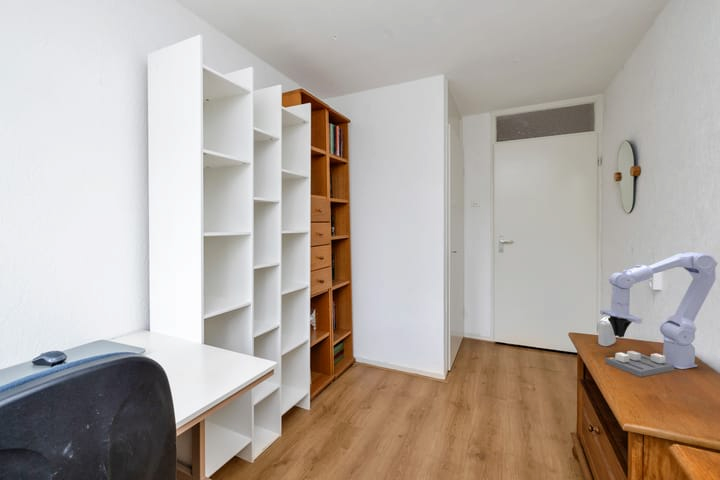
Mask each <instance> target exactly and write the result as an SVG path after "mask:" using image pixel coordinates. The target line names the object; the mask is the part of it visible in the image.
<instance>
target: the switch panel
mask: <svg viewBox="0 0 720 480" xmlns="http://www.w3.org/2000/svg"><path fill="white" fill-rule="evenodd" d="M605 364H606V365H609V366H611V367H614V368H617V369H619V370H621V371H623V372H626V373H629V374H632V375H633V376H636V377H639V378H641V377H648V376H652V375H653V376H654V375H658V374H659V375H660V374H663V373H668V372H669V373H670V372H673V371H675V367H674V365H672V364H669V363H666V362H665V363H657V362H654V361H651V356H648V355H645V354H642V353H641V360H636V361H635V360H632V359H629V362H621V361H618V360H616V359H615V356H613V357H612V356H611V357H606V358H605Z"/></svg>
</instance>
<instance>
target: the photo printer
mask: <svg viewBox="0 0 720 480" xmlns="http://www.w3.org/2000/svg"><path fill="white" fill-rule="evenodd" d="M608 318H610V316H605V317H604V316H603V318H601V319H600V320H599V321H598V332H597V333H598V334H597V335H598V337H597V339H598V340H597V344H598V345H599V346H603V347H610V346H611V345H614V344H615V343H616V338H617V336H615V335H614V331H613V328H612V325H611V323H610V322H609V320H608Z"/></svg>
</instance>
